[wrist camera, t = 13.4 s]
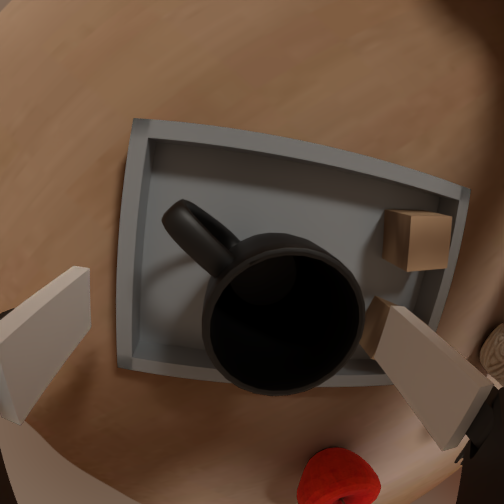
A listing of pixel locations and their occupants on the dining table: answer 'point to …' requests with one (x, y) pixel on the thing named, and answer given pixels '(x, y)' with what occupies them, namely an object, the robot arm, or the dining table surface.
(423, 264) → the walnut block
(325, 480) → the apple
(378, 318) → the walnut block
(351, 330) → the mug
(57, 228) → the dining table surface
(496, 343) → the carving
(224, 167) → the tray
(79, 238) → the dining table surface
